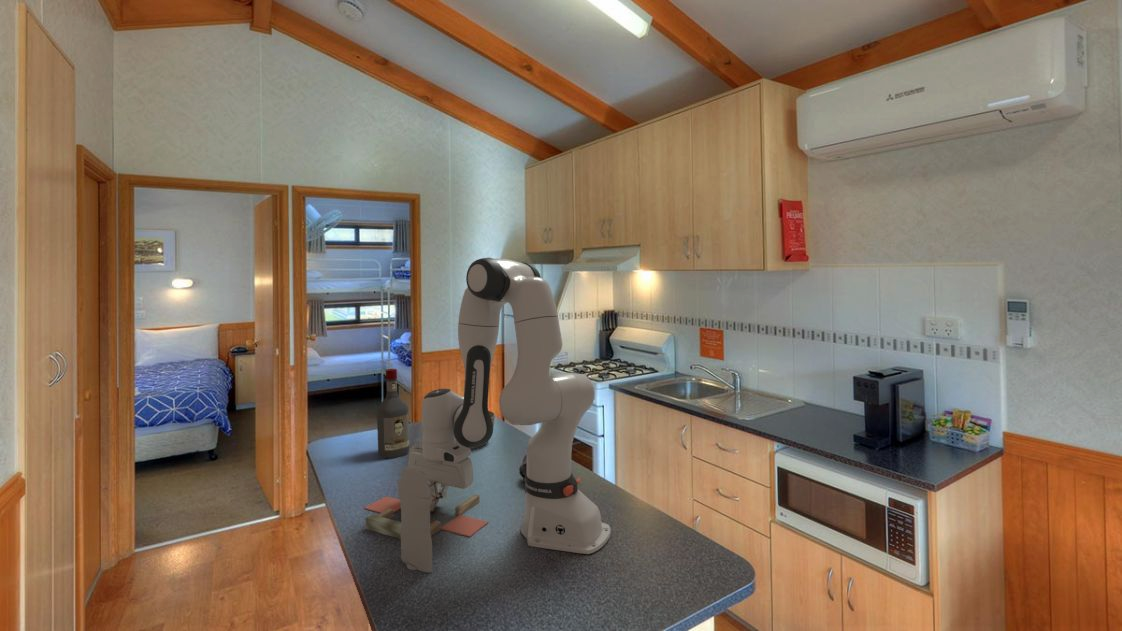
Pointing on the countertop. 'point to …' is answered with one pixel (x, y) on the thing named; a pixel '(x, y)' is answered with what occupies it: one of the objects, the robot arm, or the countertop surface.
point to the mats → (457, 525)
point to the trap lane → (393, 528)
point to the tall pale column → (415, 520)
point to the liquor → (392, 421)
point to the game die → (434, 496)
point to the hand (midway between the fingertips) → (440, 497)
